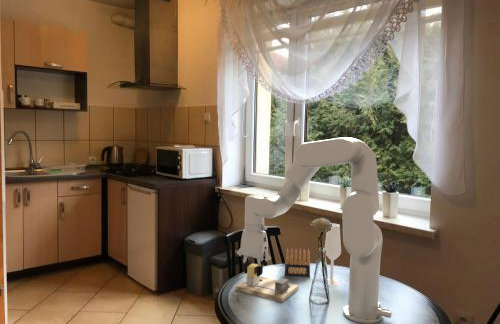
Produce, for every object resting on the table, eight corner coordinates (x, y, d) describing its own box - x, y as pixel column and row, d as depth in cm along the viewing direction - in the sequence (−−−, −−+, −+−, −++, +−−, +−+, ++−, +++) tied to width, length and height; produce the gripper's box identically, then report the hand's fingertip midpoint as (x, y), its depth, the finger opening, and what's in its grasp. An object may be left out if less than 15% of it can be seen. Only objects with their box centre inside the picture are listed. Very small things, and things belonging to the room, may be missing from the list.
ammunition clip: (309, 275, 168) (310, 248, 167) (310, 277, 166) (310, 249, 165) (284, 274, 169) (285, 246, 168) (284, 276, 167) (285, 248, 166)
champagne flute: (336, 279, 164) (338, 222, 162) (342, 286, 157) (344, 226, 155) (320, 280, 163) (322, 223, 161) (326, 286, 156) (328, 227, 154)
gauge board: (298, 288, 153) (298, 275, 153) (282, 301, 141) (283, 286, 140) (253, 278, 163) (253, 265, 162) (235, 289, 151) (235, 275, 150)
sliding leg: (263, 279, 157) (264, 262, 157) (253, 286, 150) (253, 268, 149) (257, 277, 159) (257, 260, 158) (246, 284, 151) (246, 266, 151)
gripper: (278, 228, 150) (277, 275, 151) (240, 222, 158) (239, 267, 160) (269, 232, 144) (268, 281, 145) (230, 226, 152) (229, 272, 153)
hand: (253, 273), depth 152 cm, fingers open, 4 cm apart
